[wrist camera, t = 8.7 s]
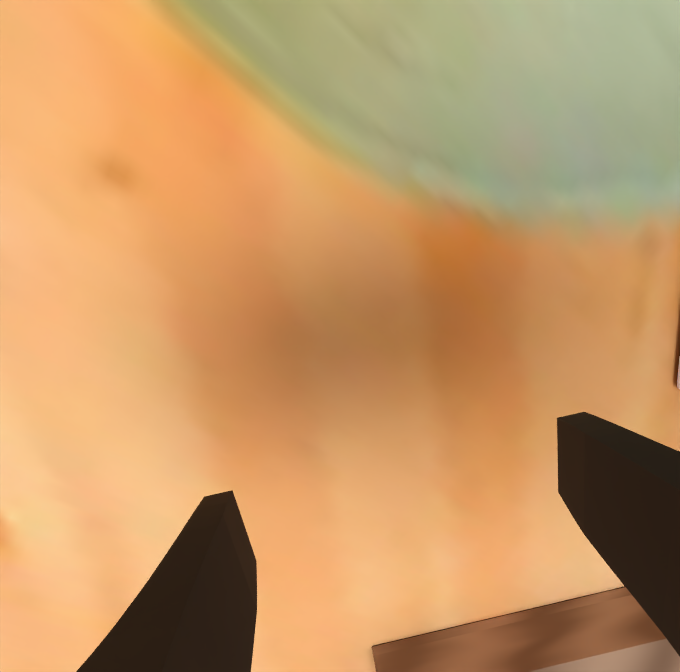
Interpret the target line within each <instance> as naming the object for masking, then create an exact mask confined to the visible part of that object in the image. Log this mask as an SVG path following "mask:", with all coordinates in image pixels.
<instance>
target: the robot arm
mask: <svg viewBox="0 0 680 672" xmlns="http://www.w3.org/2000/svg"><path fill="white" fill-rule="evenodd" d="M677 387H678V389H679V390H680V358H679V369H678V379H677ZM557 437H558V492H559V494H560V496H561V497H562V499H563V501H564V502H565V504H566V506H567V508H568V509H569V511H570V513H571V514H572V516H573V518H574V519H575V521H576V522H577V524H578V525H579V527H580V529H581V530H582V532H583V533H584V535H585V536H586V537H587V539H588V540H589V541H590V543H591V544H592V545H593V546H594V548H595V549H596V550H597V552H598V553H599V554H600V555H601V557H602V558H603V559H604V560H605V562H606V563H607V564H608V566H609V567H610V568H611V569H612V571H613V572H614V573H615V574H616V576H617V577H618V578H619V579H620V581H621V582H622V583H623V584H624V586H625V587H626V588H627V589H628V591H629V592H630V593H631V594H632V596H633V597H634V598H635V599H636V601H637V602H638V603H639V604H640V606H641V607H642V608H643V610H644V611H645V612H646V613H647V615H648V616H649V617H650V618H651V620H652V621H653V622H654V623H655V625H656V626H657V627H658V628H659V630H660V631H661V632H662V633H663V635H664V636H665V637H666V639H667V640H668V642H669V643H670V644H671V646H672V647H673V648H674V650H675V651H676V652H677V654H678V655H679V656H680V452H679V451H677V450H674V449H672V448H670V447H667V446H665V445H662V444H660V443H658V442H655V441H653V440H651V439H648V438H646V437H644V436H642V435H639V434H637V433H635V432H632V431H630V430H628V429H625V428H623V427H621V426H618V425H616V424H614V423H611V422H609V421H606V420H604V419H602V418H599V417H597V416H594V415H591V414H589V413H586V412H582V413H577V414H573V415H568V416H564V417H559V418H557ZM256 614H257V569H256V559H255V556H254V553H253V550H252V547H251V544H250V541H249V538H248V535H247V532H246V529H245V526H244V523H243V520H242V517H241V514H240V511H239V509H238V506H237V503H236V500H235V497H234V494H233V491H228V492H223V493H219V494H214V495H210V496H205V497H204V498H203V499H202V501H201V502H200V504H199V505H198V507H197V508H196V510H195V511H194V513H193V514H192V516H191V517H190V519H189V520H188V522H187V523H186V525H185V526H184V528H183V530H182V531H181V533H180V534H179V536H178V537H177V539H176V540H175V542H174V543H173V545H172V546H171V548H170V549H169V551H168V552H167V554H166V555H165V557H164V558H163V560H162V561H161V563H160V564H159V565H158V567H157V568H156V570H155V571H154V573H153V574H152V576H151V577H150V579H149V580H148V581H147V583H146V584H145V586H144V587H143V588H142V590H141V591H140V593H139V594H138V595H137V597H136V598H135V599H134V601H133V602H132V603H131V605H130V606H129V607H128V609H127V610H126V611H125V613H124V614H123V615H122V617H121V618H120V619H119V621H118V622H117V623H116V625H115V626H114V627H113V628H112V630H111V631H110V632H109V633H108V635H107V636H106V637H105V638H104V640H103V641H102V642H101V643H100V645H99V646H98V647H97V648H96V649H95V651H94V652H93V653H92V654H91V655H90V657H89V658H88V659H87V660H86V661H85V662H84V663H83V665H82V666H81V667H80V668H79V669H78V670H77V672H251V663H252V654H253V644H254V634H255V624H256Z"/></svg>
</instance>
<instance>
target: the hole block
mask: <svg viewBox="0 0 680 672" xmlns="http://www.w3.org/2000/svg"><path fill="white" fill-rule="evenodd" d="M372 650H373V655H374V661H375V667H376V672H680V656H679V655H678V654H677V652H676V651H675V650H674V648H673V647H672V646H671V644H670V643H669V642H668V640H667V639H666V637H665V636H664V635H663V633H662V632H661V631H660V630H659V628H658V627H657V626H656V625H655V623H654V622H653V621H652V620H651V618H650V617H649V616H648V615H647V613H646V612H645V611H644V610H643V608H642V607H641V606H640V604H639V603H638V602H637V601H636V599H635V598H634V597H633V596H632V594H631V593H630V592H629V591H628V589H627V588H626V587H624V588H619V589H615V590H611V591H607V592H602V593H598V594H594V595H590V596H585V597H581V598H577V599H573V600H568V601H564V602H560V603H556V604H551V605H547V606H543V607H539V608H534V609H530V610H526V611H522V612H517V613H513V614H509V615H505V616H500V617H496V618H492V619H488V620H483V621H479V622H475V623H471V624H466V625H462V626H458V627H454V628H449V629H445V630H441V631H437V632H432V633H428V634H424V635H420V636H415V637H411V638H407V639H403V640H398V641H394V642H390V643H386V644H381V645H377V646H373V647H372Z"/></svg>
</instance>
